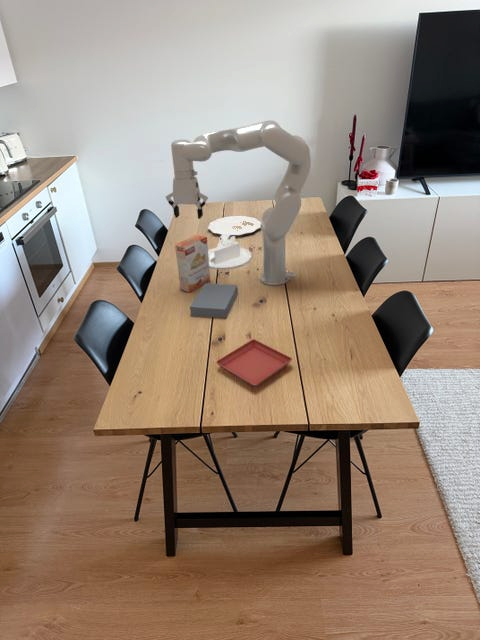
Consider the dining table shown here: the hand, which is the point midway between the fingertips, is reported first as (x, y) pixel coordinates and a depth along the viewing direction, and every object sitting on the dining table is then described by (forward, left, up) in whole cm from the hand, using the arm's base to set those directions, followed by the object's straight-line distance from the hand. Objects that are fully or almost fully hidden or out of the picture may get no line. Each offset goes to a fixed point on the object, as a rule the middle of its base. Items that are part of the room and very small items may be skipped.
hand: (188, 217), depth 190 cm
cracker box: (0, 0, -31) cm, 31 cm away
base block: (-13, +15, -31) cm, 37 cm away
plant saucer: (-37, +53, -31) cm, 72 cm away
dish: (-6, -29, -31) cm, 43 cm away
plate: (-1, -68, -31) cm, 74 cm away
